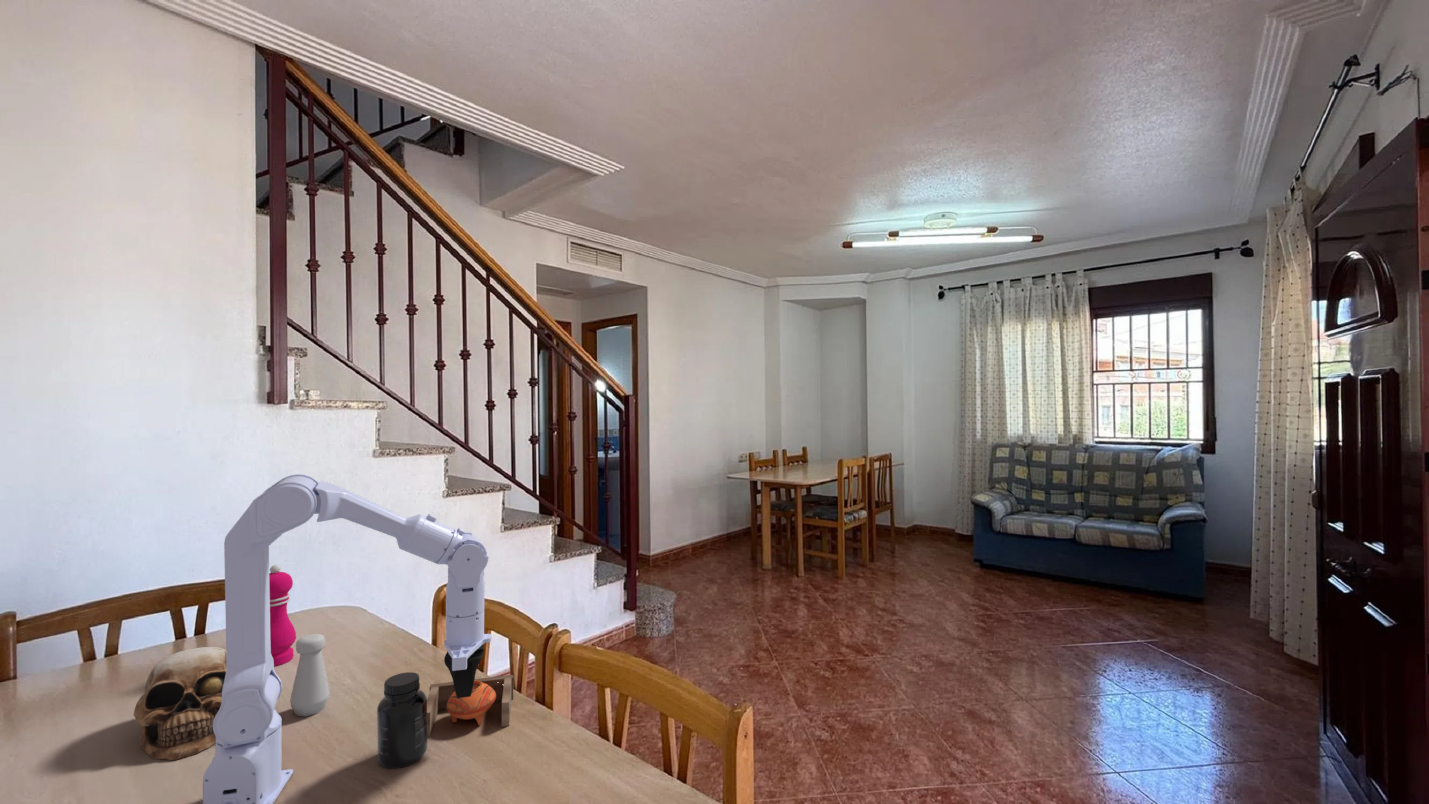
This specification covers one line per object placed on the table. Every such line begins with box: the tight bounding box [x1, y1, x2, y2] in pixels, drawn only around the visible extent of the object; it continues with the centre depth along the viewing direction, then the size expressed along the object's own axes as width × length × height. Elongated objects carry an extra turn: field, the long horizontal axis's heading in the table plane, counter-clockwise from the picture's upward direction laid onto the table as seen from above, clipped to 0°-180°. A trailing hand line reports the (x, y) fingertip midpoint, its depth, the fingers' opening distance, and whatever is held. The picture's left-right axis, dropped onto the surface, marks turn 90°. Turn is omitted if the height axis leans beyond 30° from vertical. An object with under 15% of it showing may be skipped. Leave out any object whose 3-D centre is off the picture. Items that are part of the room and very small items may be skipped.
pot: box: [446, 680, 496, 727], centre depth 102 cm, size 8×8×7 cm
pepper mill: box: [269, 564, 297, 667], centre depth 123 cm, size 7×7×20 cm
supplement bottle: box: [376, 671, 428, 769], centre depth 91 cm, size 7×7×12 cm
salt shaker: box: [289, 633, 331, 717], centre depth 104 cm, size 6×6×13 cm
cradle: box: [427, 674, 514, 738], centre depth 103 cm, size 10×14×4 cm
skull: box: [133, 646, 227, 761], centre depth 99 cm, size 16×17×13 cm
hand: (464, 695), depth 96 cm, fingers closed
